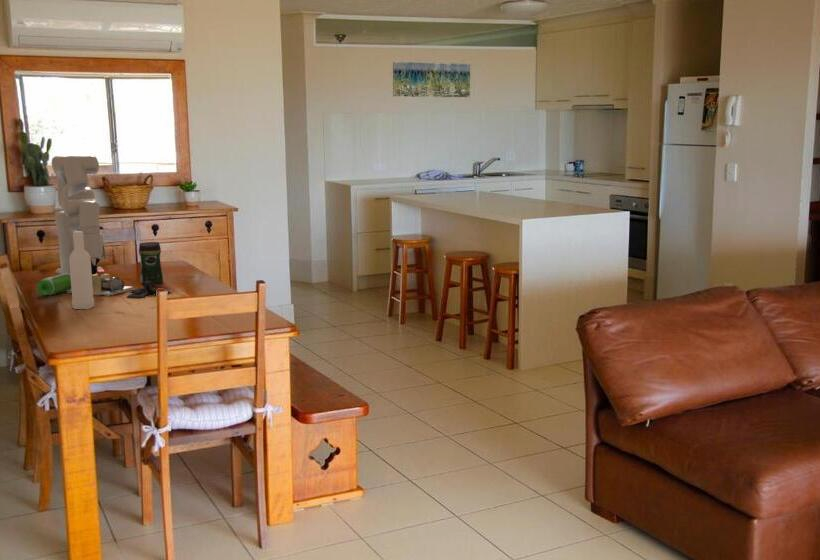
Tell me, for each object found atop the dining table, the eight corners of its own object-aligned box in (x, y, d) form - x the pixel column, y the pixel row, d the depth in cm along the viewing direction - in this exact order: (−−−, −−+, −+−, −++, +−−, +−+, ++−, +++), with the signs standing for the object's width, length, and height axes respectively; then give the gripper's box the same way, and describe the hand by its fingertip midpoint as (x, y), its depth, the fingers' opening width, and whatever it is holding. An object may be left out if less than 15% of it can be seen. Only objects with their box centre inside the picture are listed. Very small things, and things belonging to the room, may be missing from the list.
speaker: (62, 288, 385) (61, 271, 384) (77, 289, 384) (76, 272, 382) (36, 296, 368) (35, 278, 367) (52, 297, 367) (50, 279, 365)
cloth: (126, 301, 359) (125, 286, 358) (123, 293, 376) (122, 279, 375) (182, 297, 367) (181, 282, 366) (176, 289, 384) (176, 275, 383)
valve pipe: (66, 293, 374) (65, 276, 373) (91, 286, 389) (90, 270, 388) (110, 296, 366) (109, 279, 365) (134, 289, 381) (133, 273, 380)
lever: (94, 273, 377) (93, 266, 377) (103, 273, 379) (102, 266, 378) (97, 279, 364) (96, 271, 364) (106, 278, 366) (105, 271, 365)
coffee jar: (162, 280, 402) (160, 240, 399) (163, 283, 395) (161, 242, 392) (140, 282, 399) (138, 241, 396) (140, 285, 392) (138, 243, 389)
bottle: (68, 308, 342) (62, 232, 337) (85, 305, 349) (80, 229, 344) (81, 310, 338) (75, 233, 333) (98, 307, 344) (93, 231, 339)
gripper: (68, 231, 360) (71, 275, 363) (105, 231, 360) (108, 275, 363) (75, 229, 367) (78, 272, 371) (111, 229, 367) (114, 272, 371)
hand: (93, 274), depth 367 cm, fingers closed
